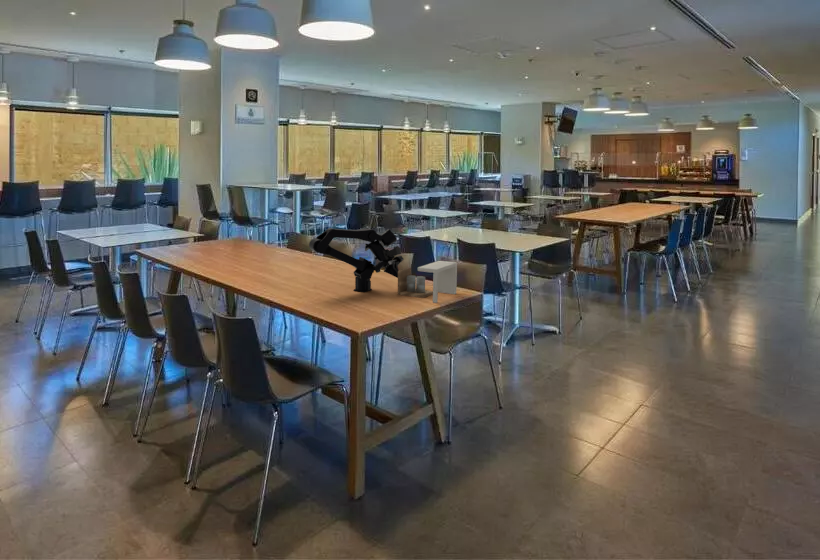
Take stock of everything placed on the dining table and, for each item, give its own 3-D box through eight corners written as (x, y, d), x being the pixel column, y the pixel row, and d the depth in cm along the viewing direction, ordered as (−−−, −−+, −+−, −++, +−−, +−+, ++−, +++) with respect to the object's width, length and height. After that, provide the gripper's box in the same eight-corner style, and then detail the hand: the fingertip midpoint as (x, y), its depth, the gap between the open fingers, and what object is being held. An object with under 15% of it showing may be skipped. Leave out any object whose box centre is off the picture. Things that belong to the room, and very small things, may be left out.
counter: (417, 300, 261) (417, 267, 258) (438, 291, 279) (439, 260, 276) (435, 302, 257) (436, 269, 254) (456, 293, 275) (457, 262, 272)
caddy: (397, 294, 272) (397, 270, 270) (408, 290, 281) (408, 267, 279) (423, 298, 266) (423, 273, 264) (433, 293, 275) (433, 270, 272)
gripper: (380, 243, 267) (401, 270, 264) (400, 238, 283) (420, 263, 281) (365, 259, 272) (386, 285, 269) (385, 253, 289) (405, 278, 286)
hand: (400, 277), depth 276 cm, fingers closed
